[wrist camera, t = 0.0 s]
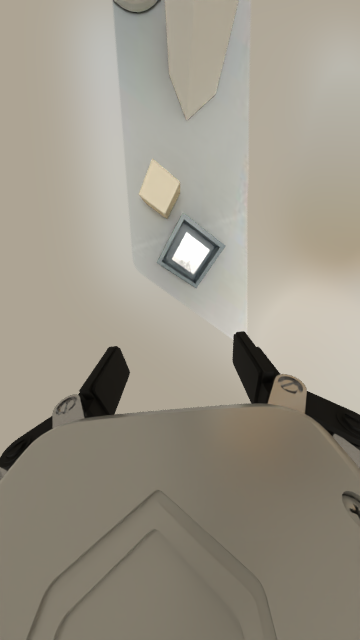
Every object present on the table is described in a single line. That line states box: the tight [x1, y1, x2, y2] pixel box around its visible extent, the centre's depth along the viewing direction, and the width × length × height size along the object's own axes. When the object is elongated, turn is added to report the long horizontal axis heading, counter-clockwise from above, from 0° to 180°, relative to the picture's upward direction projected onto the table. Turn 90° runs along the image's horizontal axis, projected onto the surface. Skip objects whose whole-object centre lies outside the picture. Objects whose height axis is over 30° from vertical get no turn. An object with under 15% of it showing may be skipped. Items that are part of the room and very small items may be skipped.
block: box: [172, 233, 209, 274], centre depth 33 cm, size 6×6×5 cm
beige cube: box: [139, 159, 180, 219], centre depth 29 cm, size 6×6×6 cm
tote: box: [157, 213, 225, 288], centre depth 34 cm, size 11×11×6 cm
